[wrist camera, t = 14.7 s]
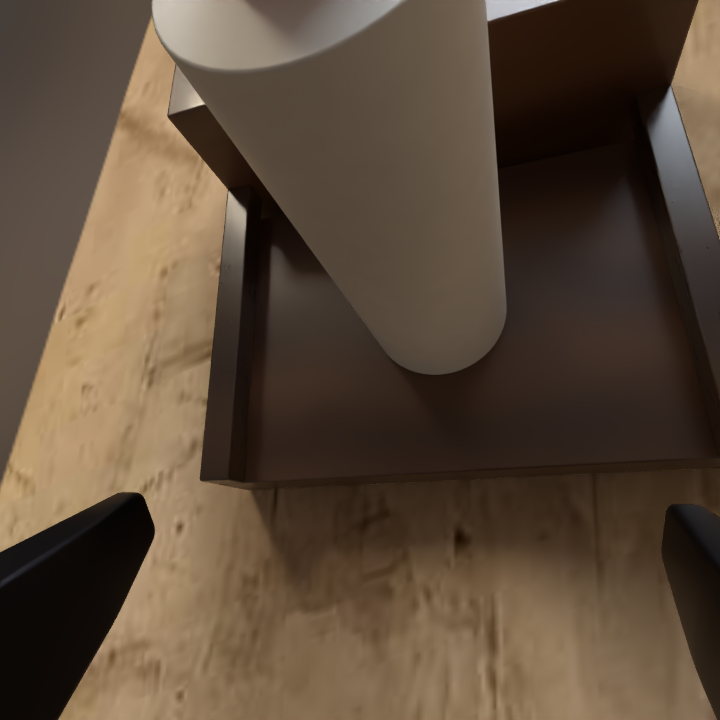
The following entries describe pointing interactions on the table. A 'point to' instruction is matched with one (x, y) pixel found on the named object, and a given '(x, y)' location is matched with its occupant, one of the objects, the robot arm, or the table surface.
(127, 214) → the table surface
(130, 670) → the table surface
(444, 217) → the glue bottle
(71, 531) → the robot arm
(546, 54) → the step shelf
